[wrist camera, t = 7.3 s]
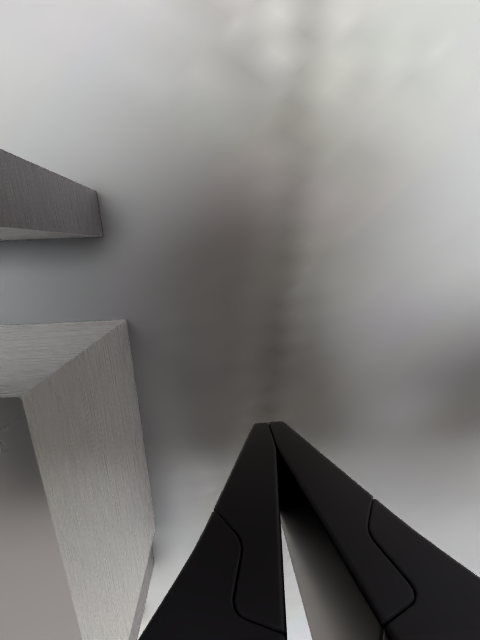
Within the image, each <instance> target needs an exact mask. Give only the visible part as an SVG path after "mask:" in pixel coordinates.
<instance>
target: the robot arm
mask: <svg viewBox="0 0 480 640" xmlns="http://www.w3.org/2000/svg"><path fill="white" fill-rule="evenodd" d="M281 524H282V528H283V531H284V535H285V539H286V542H287V546H288V550H289V554H290V557H291V561H292V565H293V569H294V572H295V576H296V580H297V584H298V587H299V591H300V595H301V598H302V602H303V606H304V610H305V613H306V617H307V621H308V625H309V628H310V632H311V636H312V640H480V577H478V576H477V575H475V574H474V573H473V572H471V571H470V570H468V569H467V568H466V567H464V566H463V565H461V564H460V563H459V562H457V561H456V560H454V559H453V558H452V557H450V556H449V555H447V554H446V553H445V552H443V551H442V550H440V549H439V548H438V547H436V546H435V545H434V544H432V543H431V542H430V541H428V540H427V539H426V538H424V537H423V536H422V535H420V534H419V533H417V532H416V531H415V530H413V529H412V528H411V527H410V526H408V525H407V524H406V523H405V522H403V521H402V520H401V519H400V518H398V517H397V516H396V515H395V514H393V513H392V512H391V511H390V510H389V509H387V508H386V507H385V506H384V505H383V504H381V503H380V502H379V501H378V500H377V499H373V496H372V495H370V494H369V493H368V492H367V491H366V490H364V489H363V488H362V487H361V486H360V485H358V484H357V483H356V482H355V481H354V480H352V479H351V478H350V477H349V476H348V475H347V474H345V473H344V472H343V471H342V470H341V469H339V468H338V467H337V466H336V465H335V464H333V463H332V462H331V461H330V460H329V459H327V458H326V457H325V456H324V455H323V454H321V453H320V452H319V451H318V450H317V449H315V448H314V447H313V446H312V445H311V444H310V443H308V442H307V441H306V440H305V439H304V438H302V437H301V436H300V435H299V434H298V433H296V432H295V431H294V430H293V429H292V428H290V427H289V426H288V425H287V424H286V423H284V422H282V421H279V422H270V423H269V424H268V423H266V422H265V423H255V424H254V425H253V426H252V429H251V431H250V433H249V435H248V437H247V439H246V441H245V444H244V446H243V448H242V450H241V452H240V454H239V456H238V459H237V461H236V463H235V465H234V467H233V469H232V471H231V474H230V476H229V478H228V480H227V482H226V484H225V486H224V489H223V491H222V493H221V495H220V497H219V499H218V501H217V504H216V506H215V508H214V511H213V512H212V514H211V516H210V518H209V520H208V522H207V525H206V527H205V529H204V531H203V533H202V535H201V536H200V538H199V540H198V542H197V544H196V546H195V548H194V550H193V552H192V553H191V555H190V557H189V558H188V560H187V562H186V564H185V565H184V567H183V569H182V570H181V572H180V574H179V575H178V577H177V579H176V580H175V582H174V583H173V585H172V587H171V588H170V590H169V591H168V593H167V595H166V596H165V598H164V599H163V601H162V603H161V604H160V606H159V607H158V609H157V611H156V612H155V614H154V615H153V617H152V619H151V620H150V622H149V623H148V625H147V627H146V628H145V630H144V631H143V633H142V635H141V636H140V638H139V639H138V640H287V627H286V609H285V591H284V573H283V555H282V537H281Z"/></svg>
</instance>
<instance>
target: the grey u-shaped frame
mask: <svg viewBox="0 0 480 640" xmlns="http://www.w3.org/2000/svg"><path fill="white" fill-rule="evenodd" d="M79 237H103V232H102V225H101V219H100V213H99V206H98V200H97V193H96V191H94V190H92V189H90V188H87V187H85V186H83V185H81V184H78V183H76V182H74V181H72V180H69V179H67V178H65V177H63V176H60V175H58V174H56V173H54V172H51V171H49V170H47V169H45V168H42V167H40V166H38V165H36V164H33V163H31V162H29V161H27V160H24V159H22V158H20V157H18V156H15V155H13V154H11V153H8V152H6V151H4V150H2V149H0V241H8V240H32V239H56V238H79ZM153 566H154V559H153V553H152V546H151V549H150V553H149V558H148V562H147V566H146V570H145V574H144V578H143V582H142V586H141V591H140V595H139V599H138V603H137V607H136V611H135V615H134V619H133V623H132V628H131V632H130V636H129V640H137V638H138V634H139V629H140V625H141V620H142V616H143V611H144V607H145V602H146V598H147V593H148V589H149V584H150V580H151V575H152V571H153Z"/></svg>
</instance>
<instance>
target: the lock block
mask: <svg viewBox="0 0 480 640" xmlns="http://www.w3.org/2000/svg"><path fill="white" fill-rule="evenodd" d="M155 529H156V525H155V518H154V511H153V504H152V497H151V489H150V482H149V475H148V468H147V461H146V454H145V447H144V440H143V433H142V426H141V419H140V412H139V405H138V398H137V391H136V383H135V376H134V369H133V362H132V355H131V348H130V341H129V334H128V327H127V320H126V319H123V320H103V321H83V322H63V323H43V324H23V325H3V326H0V640H129V636H130V632H131V628H132V623H133V619H134V615H135V611H136V607H137V603H138V599H139V595H140V591H141V586H142V582H143V578H144V574H145V570H146V566H147V562H148V558H149V553H150V549H151V545H152V541H153V537H154V533H155Z"/></svg>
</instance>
